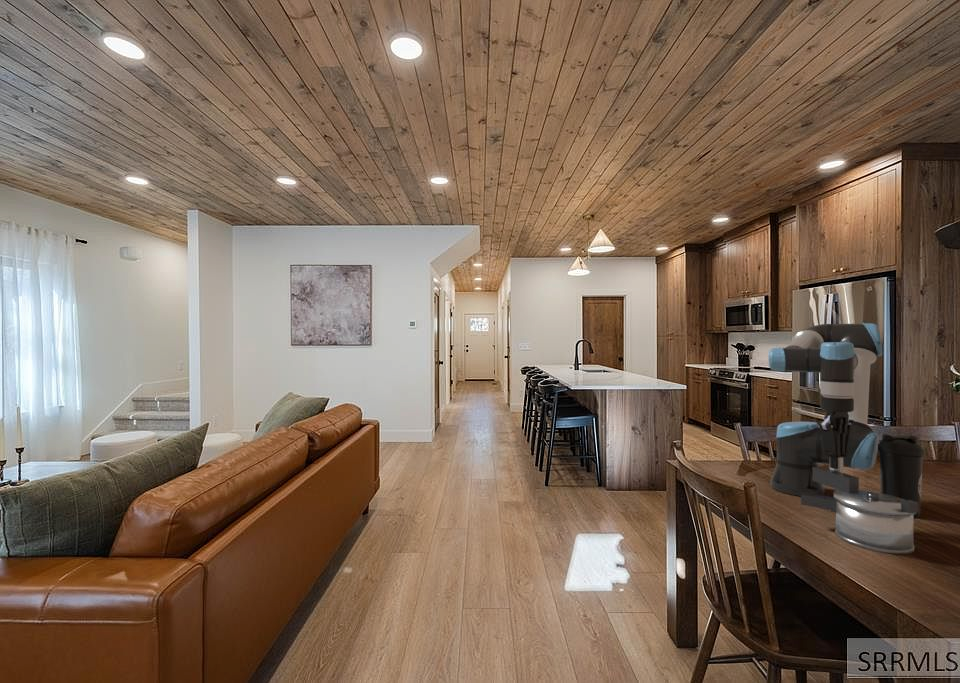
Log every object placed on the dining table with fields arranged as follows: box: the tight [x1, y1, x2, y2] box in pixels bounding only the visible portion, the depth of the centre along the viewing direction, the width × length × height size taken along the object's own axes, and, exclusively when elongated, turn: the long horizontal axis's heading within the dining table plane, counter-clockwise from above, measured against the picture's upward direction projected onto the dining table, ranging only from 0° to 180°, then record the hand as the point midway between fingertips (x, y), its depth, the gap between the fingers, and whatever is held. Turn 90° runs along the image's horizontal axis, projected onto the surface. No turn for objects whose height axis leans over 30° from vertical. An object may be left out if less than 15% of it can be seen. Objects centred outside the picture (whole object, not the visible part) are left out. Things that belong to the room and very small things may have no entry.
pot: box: [800, 492, 915, 555], centre depth 119 cm, size 23×15×9 cm
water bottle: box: [877, 433, 925, 519], centre depth 136 cm, size 10×10×23 cm
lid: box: [812, 466, 918, 516], centre depth 120 cm, size 25×16×5 cm, turn 10°
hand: (836, 479), depth 129 cm, fingers closed
